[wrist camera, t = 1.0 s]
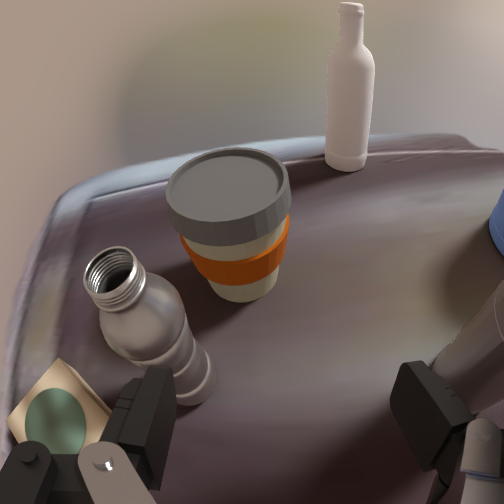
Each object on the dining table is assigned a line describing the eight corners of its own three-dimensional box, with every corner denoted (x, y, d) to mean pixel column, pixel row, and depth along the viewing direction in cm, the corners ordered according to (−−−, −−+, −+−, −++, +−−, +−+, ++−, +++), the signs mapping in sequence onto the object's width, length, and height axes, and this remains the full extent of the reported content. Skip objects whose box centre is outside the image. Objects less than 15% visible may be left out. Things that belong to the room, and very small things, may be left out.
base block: (75, 370, 33) (57, 356, 30) (135, 434, 28) (117, 427, 25) (25, 429, 27) (3, 419, 24) (77, 499, 22) (54, 497, 19)
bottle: (316, 156, 58) (314, 0, 35) (347, 146, 60) (353, 1, 37) (341, 177, 53) (349, 4, 30) (373, 166, 55) (388, 8, 32)
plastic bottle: (159, 405, 30) (47, 313, 15) (171, 351, 35) (88, 229, 20) (217, 413, 29) (139, 326, 14) (225, 356, 34) (172, 227, 19)
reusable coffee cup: (190, 251, 45) (160, 163, 33) (274, 229, 46) (268, 137, 35) (205, 327, 37) (166, 240, 25) (306, 298, 38) (312, 203, 27)
